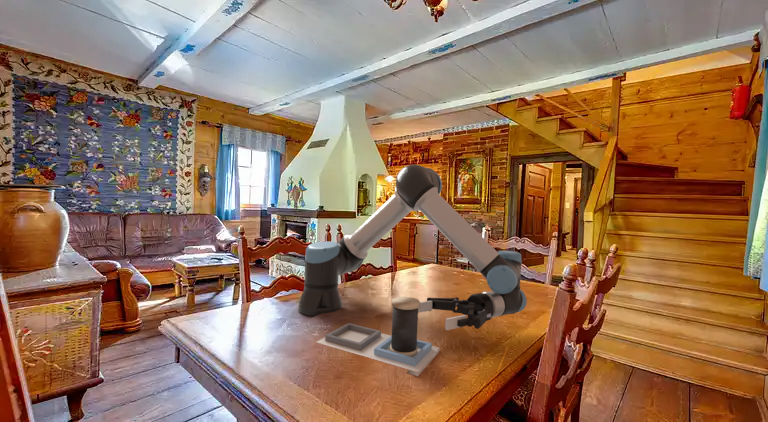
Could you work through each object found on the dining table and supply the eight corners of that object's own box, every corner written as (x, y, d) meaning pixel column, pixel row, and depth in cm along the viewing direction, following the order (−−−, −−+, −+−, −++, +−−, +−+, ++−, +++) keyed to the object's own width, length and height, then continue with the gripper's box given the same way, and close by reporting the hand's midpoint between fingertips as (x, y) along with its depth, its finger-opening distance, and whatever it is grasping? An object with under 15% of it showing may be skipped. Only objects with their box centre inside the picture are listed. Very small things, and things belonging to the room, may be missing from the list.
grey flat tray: (315, 345, 89) (316, 336, 89) (347, 328, 103) (348, 319, 103) (417, 376, 76) (418, 365, 76) (439, 351, 89) (439, 342, 89)
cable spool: (385, 353, 84) (387, 301, 84) (397, 343, 90) (399, 295, 90) (410, 360, 81) (413, 306, 81) (421, 349, 87) (423, 299, 87)
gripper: (520, 332, 90) (462, 348, 79) (454, 306, 111) (401, 315, 100) (522, 304, 90) (463, 316, 78) (455, 283, 111) (402, 290, 100)
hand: (428, 315), depth 89 cm, fingers open, 13 cm apart
